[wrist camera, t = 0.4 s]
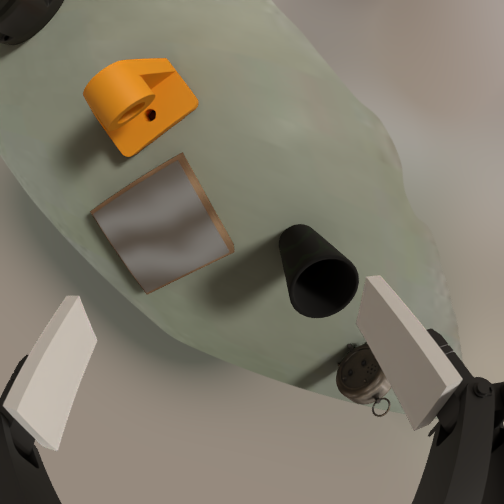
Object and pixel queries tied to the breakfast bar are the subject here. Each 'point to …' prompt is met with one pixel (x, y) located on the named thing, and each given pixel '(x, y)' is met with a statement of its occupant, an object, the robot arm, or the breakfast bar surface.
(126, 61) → the bracket
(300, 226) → the cup
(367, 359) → the alarm clock
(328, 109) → the breakfast bar surface
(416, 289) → the breakfast bar surface
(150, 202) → the plinth
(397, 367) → the robot arm
